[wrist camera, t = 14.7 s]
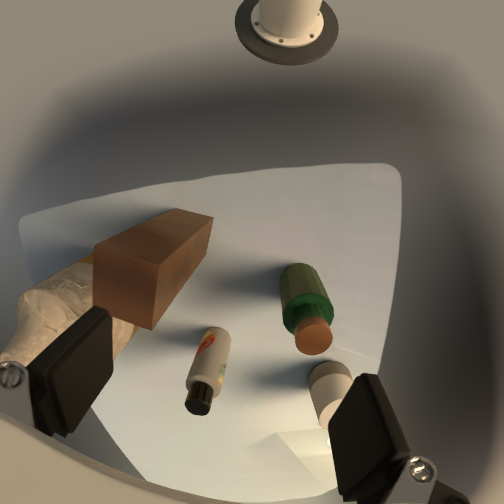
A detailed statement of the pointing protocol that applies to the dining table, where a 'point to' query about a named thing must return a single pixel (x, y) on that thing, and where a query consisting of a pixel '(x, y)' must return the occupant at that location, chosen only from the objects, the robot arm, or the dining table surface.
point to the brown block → (148, 265)
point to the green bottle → (303, 296)
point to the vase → (57, 313)
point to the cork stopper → (313, 336)
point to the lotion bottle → (207, 371)
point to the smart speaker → (328, 389)
